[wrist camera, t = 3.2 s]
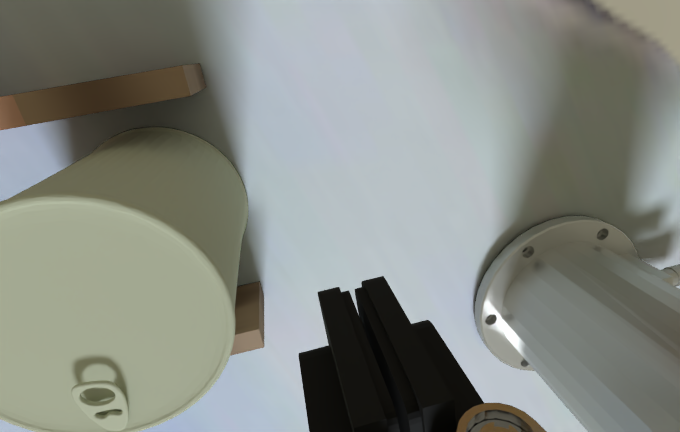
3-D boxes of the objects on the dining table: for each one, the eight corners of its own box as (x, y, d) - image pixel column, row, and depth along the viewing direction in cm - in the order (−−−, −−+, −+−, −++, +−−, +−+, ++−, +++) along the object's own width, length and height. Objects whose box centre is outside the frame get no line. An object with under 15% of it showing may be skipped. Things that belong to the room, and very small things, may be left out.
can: (100, 288, 25) (-31, 476, 14) (54, 133, 21) (-173, 216, 10) (257, 268, 26) (252, 426, 15) (236, 120, 22) (211, 181, 11)
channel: (199, 63, 21) (182, 65, 17) (263, 297, 27) (264, 347, 22) (-151, 124, 19) (-279, 144, 15) (-5, 359, 25) (-66, 428, 20)
